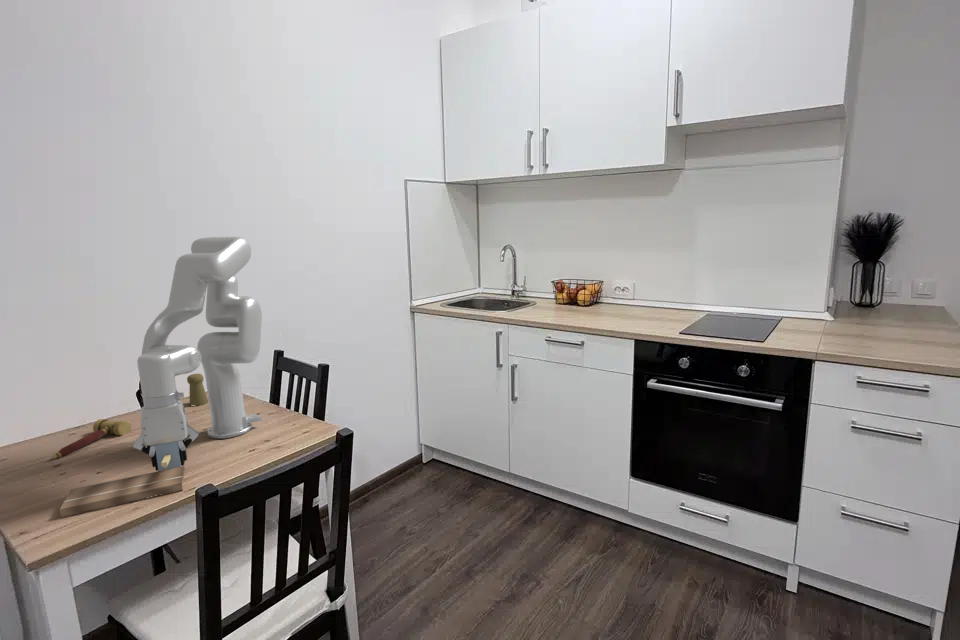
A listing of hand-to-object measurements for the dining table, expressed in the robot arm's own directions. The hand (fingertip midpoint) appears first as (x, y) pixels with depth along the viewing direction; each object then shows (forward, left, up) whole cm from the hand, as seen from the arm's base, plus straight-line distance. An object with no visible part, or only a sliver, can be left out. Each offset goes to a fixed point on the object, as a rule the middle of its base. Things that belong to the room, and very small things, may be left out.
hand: (170, 465), depth 137 cm
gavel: (+24, -34, -3) cm, 42 cm away
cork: (-4, -57, -2) cm, 57 cm away
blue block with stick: (0, +4, 0) cm, 4 cm away
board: (+9, +7, -2) cm, 12 cm away
